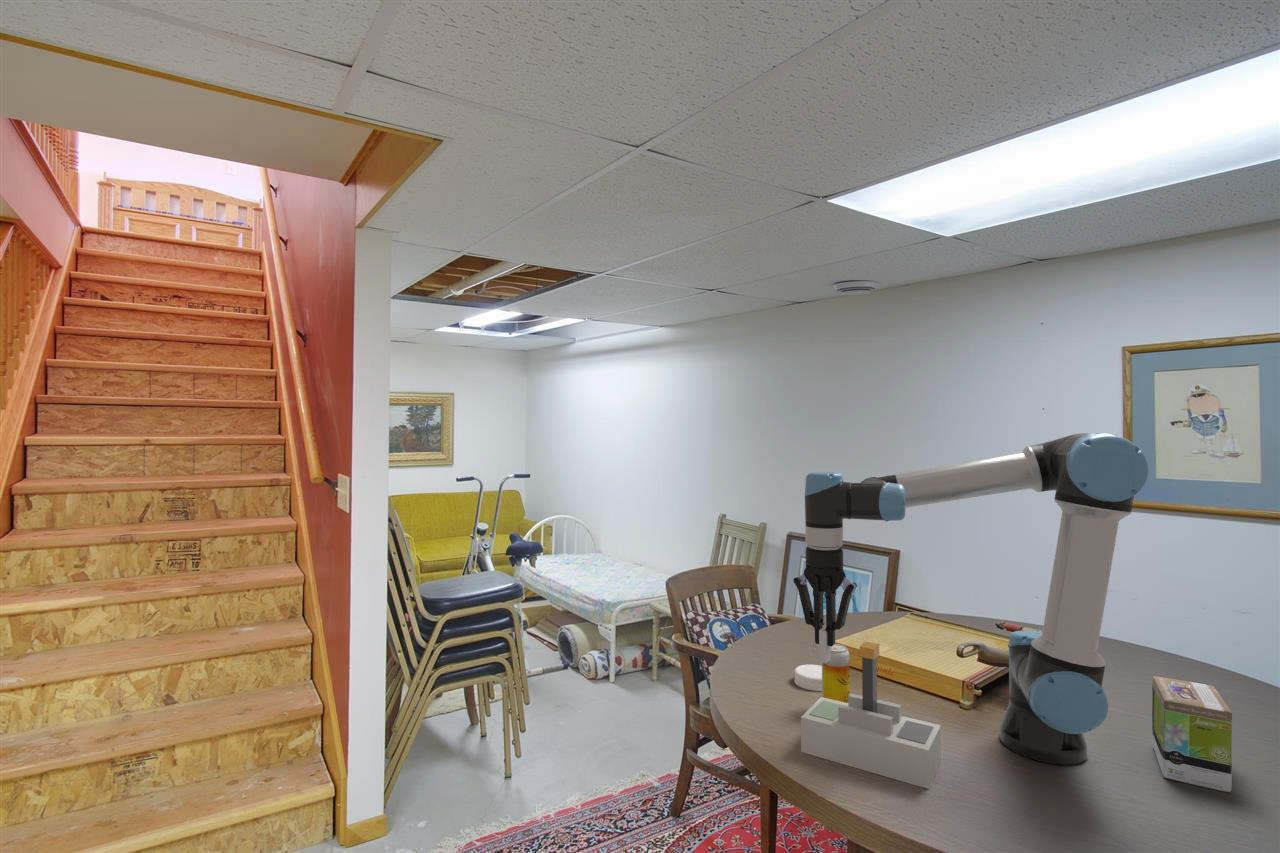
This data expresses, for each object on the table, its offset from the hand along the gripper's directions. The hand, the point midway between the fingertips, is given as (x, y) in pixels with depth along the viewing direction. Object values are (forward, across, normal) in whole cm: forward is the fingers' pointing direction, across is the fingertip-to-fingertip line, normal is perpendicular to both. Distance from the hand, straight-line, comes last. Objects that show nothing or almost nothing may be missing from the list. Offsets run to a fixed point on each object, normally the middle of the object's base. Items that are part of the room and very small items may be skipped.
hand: (825, 660), depth 134 cm
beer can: (+18, +3, -16) cm, 24 cm away
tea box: (+18, -61, -30) cm, 70 cm away
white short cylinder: (+18, +13, -30) cm, 37 cm away
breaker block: (+17, -9, 0) cm, 20 cm away
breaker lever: (+10, -9, 0) cm, 13 cm away
